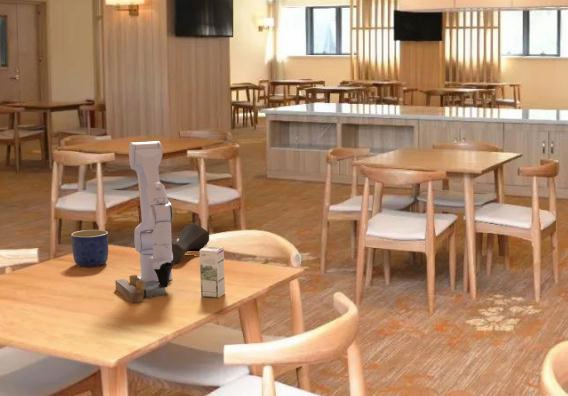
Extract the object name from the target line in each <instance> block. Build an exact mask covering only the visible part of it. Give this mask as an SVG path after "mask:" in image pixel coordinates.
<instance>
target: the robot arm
mask: <svg viewBox="0 0 568 396" xmlns="http://www.w3.org/2000/svg"><path fill="white" fill-rule="evenodd" d="M162 159H163V146H162V143H161V142H160V141H159V140H155V141H141V142H140V141H138V142H134V141H133V142H132V141H131V142H130V143H129V145H128V160H129V166H130V169H131V170H132V171H135V172H136V176H137V184H138V193H139V204H140V213H141V215H140V216H141V222H140V223H138V225H137V226H136V227H135V228H134V231H133V232H134V233H133V234H134V237H133V239H134V241H133V243H134V248H135V251H136V252H137V253H139V259H140V260H139V261H140V264H139V265H140V275H137V278H138V280H144V282H146V281H154V280H155V281H156V282H158V283H159V284H161V285H162V286H163V287H165V288H168V286H169V284H170V281H172V280H173V277H172V275H173V274H172V273H173V272H172V271H173V270H172V269H173V268H174V265H175V264H173V263H171V261H172V260H173V253H172V243H173V241H172V240H173V239H172V223H173V221H174V211H173V206H172V203H171V201H170V200H169V199H168V195H167V190H166V187H165V184H163V183H162V182H161V180H160V171H159V166H160V164H161V162H162Z"/></svg>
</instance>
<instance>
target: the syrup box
mask: <svg viewBox="0 0 568 396" xmlns="http://www.w3.org/2000/svg"><path fill="white" fill-rule="evenodd" d="M224 250H225V248H224V247H222V246H207V245H206V246H204V247H203V248H202V249H199V268H200V269H199V270H200V272H199V275H200V296H201V297H202V298H203V297H204V298H212V299H213V298H215V299H216V298H217V299H219V298H221V297H222V296H224V295H226V285H225V284H226V283H225V282H226V281H225V280H226V279H225V251H224Z"/></svg>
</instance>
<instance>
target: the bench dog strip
mask: <svg viewBox="0 0 568 396" xmlns="http://www.w3.org/2000/svg"><path fill="white" fill-rule="evenodd" d="M137 276H138V275H136V274H131V275H129V281H128V280H127V279H125V278H121V279H115V283H114V284H115V290H116V291H117V292H118V293H120V294H121V295H122V296H123V297H124V298H125V299H126V300H128V301H129V302H130V303H131V304H136V303H137V304H140V303H142V302H143V299H144V298H146V297H145V286H144V280H139V279H138V278H137Z"/></svg>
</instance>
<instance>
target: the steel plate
mask: <svg viewBox="0 0 568 396" xmlns="http://www.w3.org/2000/svg"><path fill="white" fill-rule="evenodd" d="M144 286H145V297H144V298H156V297H162V296H163V297H164V296H166V287H163V286H162V285H161V284H159V281H155V280H154V281H146V282H144Z"/></svg>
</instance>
